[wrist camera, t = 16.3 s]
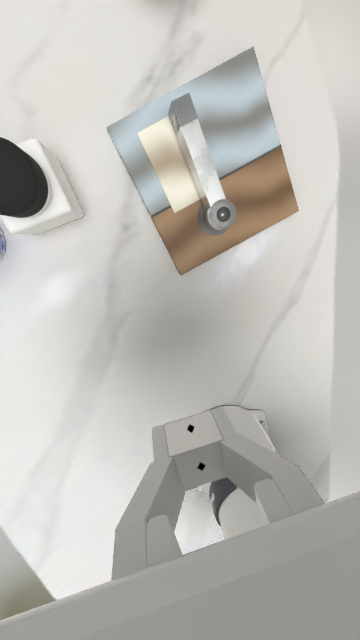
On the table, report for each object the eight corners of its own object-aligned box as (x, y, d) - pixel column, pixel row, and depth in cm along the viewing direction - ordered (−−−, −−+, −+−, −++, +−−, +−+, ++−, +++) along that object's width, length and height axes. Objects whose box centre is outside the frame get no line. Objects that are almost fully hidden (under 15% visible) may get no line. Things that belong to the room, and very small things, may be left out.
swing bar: (231, 223, 34) (241, 221, 31) (209, 234, 34) (216, 234, 31) (189, 103, 29) (195, 87, 26) (162, 117, 29) (165, 102, 26)
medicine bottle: (57, 157, 30) (10, 109, 19) (85, 216, 32) (58, 204, 21) (3, 178, 30) (-78, 141, 18) (35, 235, 32) (-19, 234, 21)
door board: (293, 211, 37) (299, 210, 36) (179, 273, 37) (181, 275, 36) (249, 53, 30) (254, 45, 28) (107, 131, 30) (106, 126, 29)
